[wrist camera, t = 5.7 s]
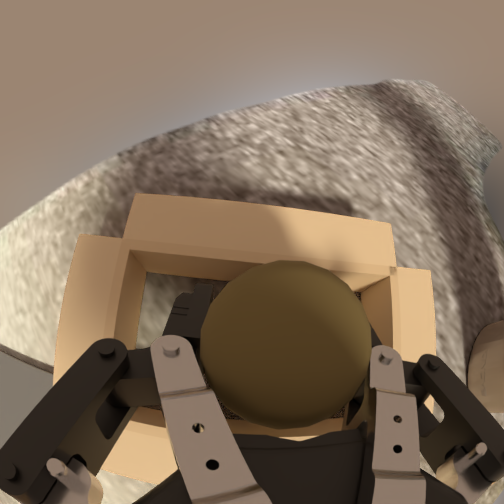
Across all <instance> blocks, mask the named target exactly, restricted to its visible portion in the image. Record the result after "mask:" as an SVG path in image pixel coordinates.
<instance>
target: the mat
mask: <svg viewBox="0 0 504 504" xmlns="http://www.w3.org/2000/svg"><path fill="white" fill-rule="evenodd" d="M52 387H53V373H51V372H48V371H45V370H43V369H40V368H38V367H36V366H33V365H31V364H29V363H26V362H24V361H22V360H20V359H17V358H15V357H13V356H11V355H9V354H7V353H5V352H3V351H1V350H0V449H1V448H2V447H3V445H4V444H5V443H6V441H7V440H8V439H9V438H10V436H11V435H12V434H13V433H14V431H15V430H16V429H17V428H18V427H19V425H20V424H21V423H22V422H23V421H24V419H25V418H26V417H27V416H28V415H29V413H30V412H31V411H32V410H33V409H34V407H35V406H36V405H37V404H38V403H39V402H40V401H41V399H42V398H43V397H44V396H45V395H46V394H47V393H48V391H49V390H50V389H51V388H52Z"/></svg>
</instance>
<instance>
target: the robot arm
mask: <svg viewBox="0 0 504 504" xmlns="http://www.w3.org/2000/svg"><path fill="white" fill-rule="evenodd" d="M212 301H213V284H204V283H196V286H195V289H194V292H193V294H190V293H182V294H181V295H180V296H179V297H177V298H176V300H175V302H174V305H173V308H172V310H171V314H170V316H169V318H168V321H167V324H166V327H165V329H164V332H163V335H162V336H161V337H159V338H157V339H156V340H155V341H154V342H153V343H152V345H151V347H149V348H145V349H136V350H127V348H126V346H125V344H124V343H123V342H121V341H119V340H117V339H113V338H104V339H100V340H98V341H96V342H94V343H93V344H92V345H91V346H90V347H89V348H88V349H87V350H86V351H85V352H84V353H83V354H82V355H81V356H80V357H79V359H78V360H77V361H76V362H75V363H74V364H73V365H72V366H71V367H70V368H69V369H68V370H67V371H66V373H65V374H64V375H63V376H62V377H61V378H60V379H59V380H58V381H57V382H56V384H55V385H54V386H53V387H52V388H51V389H50V390H49V391H48V393H47V394H46V395H45V396H44V397H43V398H42V399H41V401H40V402H39V403H38V404H37V405H36V406H35V407H34V409H33V410H32V411H31V412H30V413H29V415H28V416H27V417H26V418H25V419H24V421H23V422H22V423H21V424H20V425H19V427H18V428H17V429H16V430H15V431H14V433H13V434H12V435H11V436H10V438H9V439H8V440H7V441H6V443H5V444H4V445H3V447H2V448H1V449H0V489H1V490H3V491H4V492H5V493H7V494H8V495H10V496H12V497H13V498H15V499H16V500H17V501H18V502H20V503H21V504H101V501H102V498H103V488H102V486H101V483H100V482H99V480H98V479H97V478H96V475H97V473H98V472H99V470H100V468H101V467H102V465H103V463H104V462H105V460H106V458H107V457H108V455H109V453H110V452H111V450H112V449H113V447H114V445H115V444H116V442H117V440H118V439H119V437H120V435H121V434H122V432H123V431H124V429H125V427H126V426H127V424H128V423H129V421H130V419H131V418H132V416H133V414H134V413H135V411H136V410H137V408H138V406H151V405H160V406H161V410H162V414H163V418H164V422H165V426H166V430H167V434H168V437H169V441H170V445H171V448H172V452H173V455H174V458H175V462H176V465H177V468H178V469H177V470H176V471H175V472H174V473H172V474H171V475H170V476H169V477H167V478H166V479H165V480H164V481H162V482H161V483H160V484H158V485H157V486H156V487H155V488H153V489H152V490H151V491H149V492H148V493H147V494H145V495H144V496H142V497H141V498H140V499H138V500H137V501H135V502H134V503H132V504H474V503H475V502H476V501H477V500H478V499H479V498H480V497H481V495H482V494H483V493H484V492H485V491H486V490H487V489H488V488H489V487H490V486H491V485H493V484H494V483H495V482H497V481H498V480H499V479H501V478H502V477H503V476H504V429H503V428H502V427H501V426H500V425H499V423H498V422H497V421H496V420H495V419H494V417H493V416H492V415H491V414H490V413H504V320H502V321H499V322H495V323H492V324H489V325H487V326H485V327H484V328H483V329H482V331H481V332H480V333H479V335H478V337H477V339H476V341H475V343H474V346H473V349H472V353H471V356H470V362H469V370H468V388H467V387H466V385H465V384H464V383H463V382H462V381H461V380H460V379H459V378H458V377H457V376H456V375H455V374H454V372H453V371H452V370H451V369H450V368H449V367H448V366H447V365H446V364H445V363H444V362H443V361H442V360H441V359H440V358H439V357H437V356H435V355H432V354H423V355H422V356H421V357H420V358H419V360H418V361H417V363H414V362H408V361H403V360H402V358H401V356H400V354H399V353H398V352H397V351H396V350H394V349H393V348H391V347H388V346H384V345H383V344H382V343H381V341H380V339H379V337H378V336H377V334H376V332H375V331H374V329H373V328H372V326H371V324H370V322H369V324H370V327H371V344H372V353H371V358H370V362H369V366H368V369H367V373H366V377H365V379H364V380H363V382H362V384H361V385H360V387H359V389H358V390H357V392H356V394H355V395H354V397H353V398H352V400H350V401H349V402H348V403H347V404H346V405H345V411H344V417H343V424H342V429H341V431H334V432H329V433H326V434H323V435H319V436H316V437H313V438H310V439H306V440H303V441H296V440H290V439H284V438H279V437H274V436H269V435H254V434H232V432H231V430H230V428H229V426H228V424H227V421H226V419H225V417H224V415H223V412H222V410H221V408H220V405H219V403H218V401H217V398H216V396H215V394H214V392H213V390H212V389H211V388H207V387H206V384H205V382H204V379H203V375H204V369H203V366H202V363H201V360H200V338H201V328H202V325H203V323H204V320H205V317H206V315H207V312H208V309H209V307H210V304H211V303H212ZM430 395H431V396H432V397H433V398H434V400H435V401H436V402H437V403H438V404H439V406H440V407H441V408H442V409H443V411H444V419H443V421H442V422H441V423H439V422H438V421H437V419H436V418H435V417H434V415H433V414H432V413H431V412H430V410H429V409H428V408H427V406H426V405H425V404H424V402H425V401H426V400H427V398H428V397H429V396H430ZM420 452H421V454H422V455H423V457H424V458H425V459H426V461H427V462H428V464H429V465H430V467H431V468H432V470H433V471H434V473H435V474H436V478H435V477H433V476H432V475H430V474H428V473H427V472H425V471H424V470H422V469H421V468H420Z"/></svg>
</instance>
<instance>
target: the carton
mask: <svg viewBox="0 0 504 504" xmlns="http://www.w3.org/2000/svg"><path fill="white" fill-rule="evenodd" d="M277 260H289V261H305V262H308V263H311V264H314V265H316V266H319V267H322V268H325V269H328V270H329V271H330V272H332V273H333V274H334V275H336V276H337V277H339V278H340V279H341V280H343V281H344V282H345V283H347V284H348V285H349V287H350V288H351V290H352V291H353V292H361V303H362V305H363V307H364V310H365V313H366V315H367V318H368V321H369V322H370V324H371V326H372V328H373V329H374V331H375V332H376V334H377V336H378V337H379V339H380V341H381V343H382V344H383V345H384V346H388V347H391V348H393V349H394V350H396V351H397V352H398V353H399V354H400V356H401V358H402V360H403V361H408V362H414V363H417V361H418V360H419V358H420V357H421V356H422V355H423V354H432V355H435V356H436V331H435V312H434V300H433V289H432V281H431V273H430V270H422V269H413V268H403V267H397V266H396V257H395V249H394V242H393V235H392V229H391V224H390V223H384V222H379V221H373V220H367V219H361V218H355V217H349V216H343V215H337V214H330V213H324V212H317V211H310V210H303V209H296V208H288V207H280V206H273V205H264V204H256V203H247V202H238V201H229V200H219V199H208V198H198V197H186V196H173V195H160V194H145V193H135V196H134V199H133V203H132V206H131V209H130V213H129V216H128V220H127V223H126V227H125V230H124V234H123V238H116V237H107V236H97V235H87V234H79V237H78V241H77V244H76V248H75V251H74V255H73V259H72V262H71V266H70V270H69V275H68V279H67V283H66V288H65V293H64V298H63V303H62V308H61V314H60V320H59V327H58V334H57V342H56V350H55V361H54V374H53V386H54V385H55V384H56V382H57V381H58V380H59V379H60V378H61V377H62V376H63V375H64V374H65V373H66V371H67V370H68V369H69V368H70V367H71V366H72V365H73V364H74V363H75V362H76V361H77V360H78V359H79V357H80V356H81V355H82V354H83V353H84V352H85V351H86V350H87V349H88V348H89V347H90V346H91V345H92V344H93V343H94V342H96V341H98V340H100V339H104V338H113V339H117V340H119V341H121V342H123V343H124V344H125V346H126V348H127V350H135V348H136V339H137V331H138V324H139V317H140V310H141V303H142V297H143V291H144V285H145V280H146V274H147V272H152V273H160V274H168V275H177V276H185V277H194V278H203V279H212V280H222V281H232V280H233V279H235V278H236V277H238V276H240V275H241V274H243V273H244V272H246V271H247V270H249V269H251V268H253V267H255V266H259V265H263V264H266V263H270V262H274V261H277ZM424 404H425V405H426V406H427V408H428V409H429V410H430V412H431V413H432V414H433V405H434V398H433V397H432V396H431V395H430V396H429V397H428V398H427V400H426V401H425V402H424ZM226 421H227V424H228V426H229V428H230V430H231V432H232V434H254V435H269V436H274V437H279V438H284V439H290V440H296V441H303V440H306V439H310V438H313V437H316V436H319V435H323V434H326V433H329V432H334V431H341V429H342V424H343V418H333V419H325V420H323V421H321V422H318V423H316V424H314V425H311V426H309V427H303V428H293V429H273V428H268V427H264V426H261V425H257V424H253V423H249V422H247V421H246V420H235V419H226ZM100 469H102V470H105V471H108V472H112V473H115V474H118V475H122V476H125V477H129V478H133V479H136V480H140V481H145V482H149V483H154V484H160V483H161V482H162V481H164V480H165V479H166V478H167V477H169V476H170V475H171V474H172V473H174V472H175V471H176V470H177V469H178V468H177V465H176V462H175V458H174V455H173V452H172V448H171V445H170V441H169V437H168V434H167V430H166V426H165V422H164V418H163V414H162V410H156V409H151V408H146V407H142V406H138V408H137V410H136V411H135V413H134V414H133V416H132V418H131V419H130V421H129V423H128V424H127V426H126V427H125V429H124V431H123V432H122V434H121V435H120V437H119V439H118V440H117V442H116V444H115V445H114V447H113V449H112V450H111V452H110V453H109V455H108V457H107V458H106V460H105V462H104V463H103V465H102V467H101V468H100Z"/></svg>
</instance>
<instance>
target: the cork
mask: <svg viewBox="0 0 504 504" xmlns="http://www.w3.org/2000/svg"><path fill="white" fill-rule="evenodd" d="M371 353H372V344H371V327H370V324H369V321H368V318H367V315H366V313H365V310H364V307H363V305H362V303H361V302H360V300H359V299H358V298H357V296H356V295H355V294H354V292H353V291H352V290H351V288H350V287H349V285H348V284H347V283H345V282H344V281H343V280H341V279H340V278H339V277H337V276H336V275H334V274H333V273H332V272H330V271H329V270H328V269H325V268H322V267H319V266H316V265H314V264H311V263H308V262H305V261H289V260H277V261H274V262H270V263H266V264H263V265H259V266H255V267H253V268H251V269H249V270H247V271H246V272H244V273H243V274H241V275H240V276H238V277H236V278H235V279H233V280H232V281H230V282H229V283H227V285H226V286H225V287H224V288H223V289H222V291H221V292H220V293H219V294H218V296H217V297H216V298H215V299H214V300H213V302H212V303H211V304H210V307H209V309H208V312H207V315H206V317H205V320H204V323H203V325H202V328H201V338H200V360H201V363H202V366H203V369H204V373H205V376H206V379H207V382H208V385H209V386H210V387H211V389H212V390H213V392H214V393H215V394H216V396H217V397H218V398H219V400H220V401H221V402H222V403H223V405H224V406H225V407H226V408H228V409H229V410H231V411H232V412H233V413H235V414H236V415H238V416H239V417H241V418H243V419H244V420H246V421H247V422H249V423H253V424H257V425H261V426H264V427H268V428H273V429H293V428H303V427H309V426H311V425H314V424H316V423H318V422H321V421H323V420H325V419H327V418H330V417H332V416H333V415H334V414H336V413H337V412H338V411H339V410H340V409H341V408H343V407H344V406H345V405H346V404H347V403H348V402H349V401H350V400H352V398H353V397H354V395H355V394H356V392H357V390H358V389H359V387H360V385H361V384H362V382H363V380H364V379H365V377H366V373H367V369H368V366H369V362H370V358H371Z"/></svg>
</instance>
